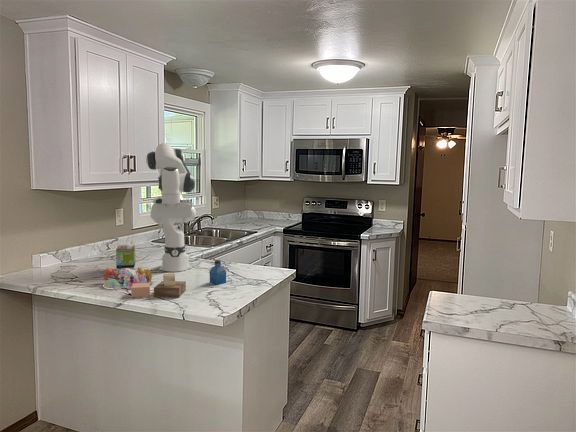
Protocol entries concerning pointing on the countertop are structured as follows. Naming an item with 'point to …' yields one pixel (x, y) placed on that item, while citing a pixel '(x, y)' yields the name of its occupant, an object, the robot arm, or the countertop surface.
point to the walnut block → (170, 289)
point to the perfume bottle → (217, 273)
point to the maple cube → (169, 279)
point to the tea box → (125, 257)
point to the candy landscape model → (127, 277)
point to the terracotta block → (140, 290)
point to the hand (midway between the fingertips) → (171, 227)
